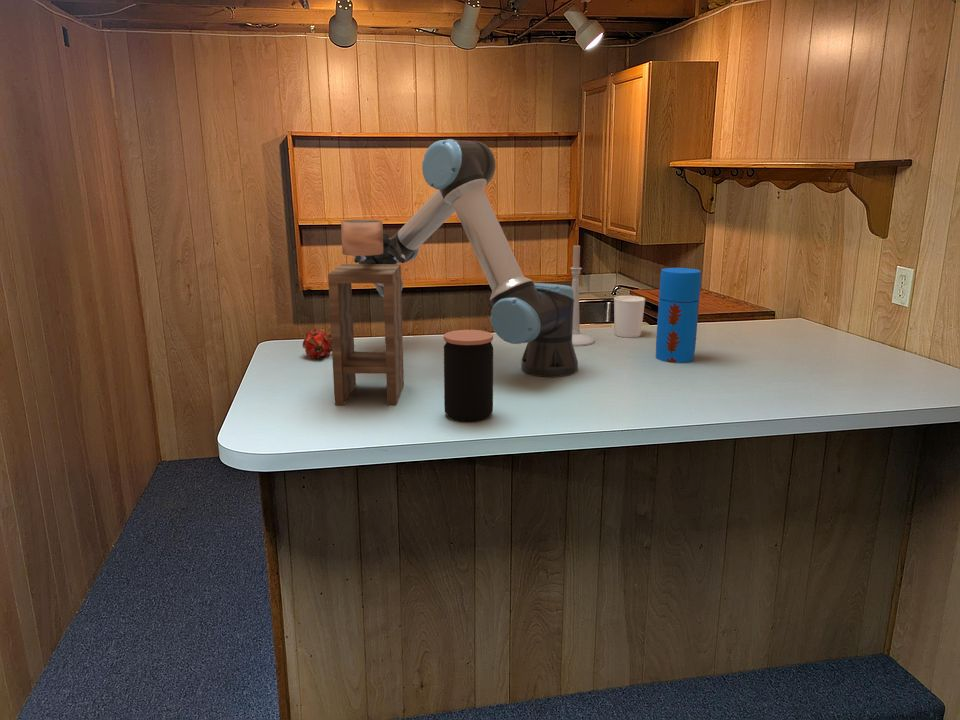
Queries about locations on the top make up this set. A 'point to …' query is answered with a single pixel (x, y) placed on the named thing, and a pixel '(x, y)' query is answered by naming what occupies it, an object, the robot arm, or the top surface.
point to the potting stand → (343, 334)
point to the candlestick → (577, 303)
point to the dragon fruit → (317, 343)
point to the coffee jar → (468, 375)
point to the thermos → (678, 314)
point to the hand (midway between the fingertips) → (370, 230)
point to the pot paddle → (362, 237)
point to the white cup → (628, 316)
